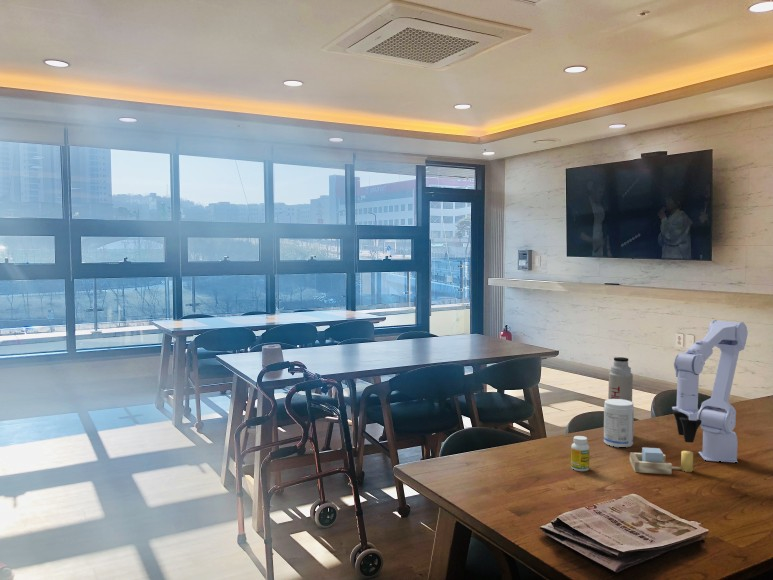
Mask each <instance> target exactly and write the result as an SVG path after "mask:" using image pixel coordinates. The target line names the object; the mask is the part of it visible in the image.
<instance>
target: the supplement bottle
mask: <svg viewBox="0 0 773 580" xmlns="http://www.w3.org/2000/svg"><path fill="white" fill-rule="evenodd" d="M572 441H573V443H571V446H570V457H571V458H570V467H571V469H572V470H573V469H574V470H573V471H576V472H577V471H578V472H587V471H589V470H590V457H591V456H590V450H591V448H590V447H591V446H589V444H588V437H587V436H583V435H575V436H573V440H572Z"/></svg>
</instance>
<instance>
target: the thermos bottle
mask: <svg viewBox="0 0 773 580" xmlns="http://www.w3.org/2000/svg"><path fill="white" fill-rule="evenodd" d="M631 369H632V368H631V367H630V366H629V358H627V357H623V356H622V357H619V356H615V357H613V365H611V366H610V372H609V373H608V399H623V400H628V401H631V402H633V385H634V383H633V380H634V379H633V378H634V377H633V376H634V374H633V373H631V372H632V370H631ZM608 399H607V400H608Z"/></svg>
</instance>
